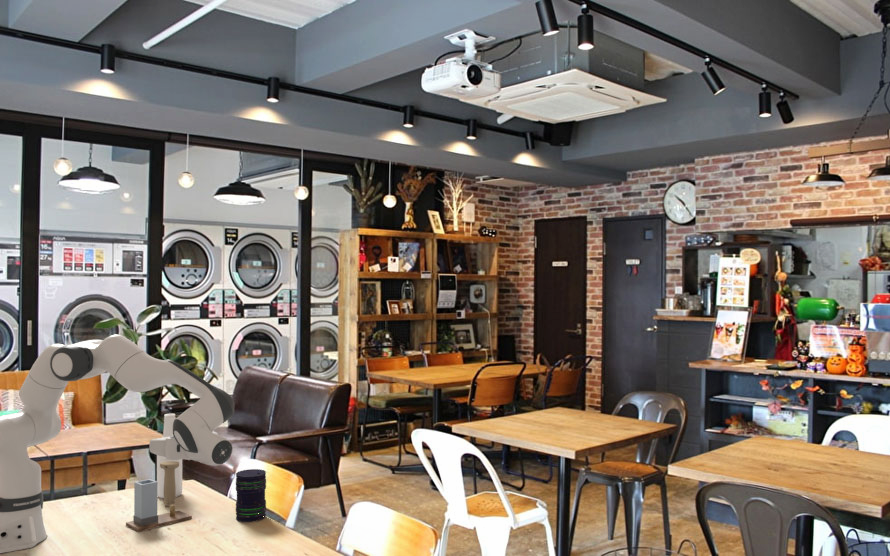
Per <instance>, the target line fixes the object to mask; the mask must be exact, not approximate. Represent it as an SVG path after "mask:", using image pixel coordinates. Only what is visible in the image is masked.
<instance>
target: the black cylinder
mask: <svg viewBox="0 0 890 556" xmlns="http://www.w3.org/2000/svg"><path fill="white" fill-rule="evenodd" d="M266 474H267V471H266V470H264V469H256V468H253V469H252V468H251V469H244V470H238V471H237V472H236V473H235V477H236V478H235V491H236V501H235V502H236V503H235V515H236V517H235V520H236V521H237V522H239V523H241V522H242V523H254V522H253V521H256V522H259V521H260V522H261V521H262V520H264V519H266V517H267V514H266V512H267V501H266V489H267V475H266ZM258 513H259V514H258ZM263 516H264V517H263Z"/></svg>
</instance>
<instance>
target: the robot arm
mask: <svg viewBox="0 0 890 556" xmlns="http://www.w3.org/2000/svg"><path fill="white" fill-rule="evenodd" d="M103 374H109V375H110V376H111V377H113V379H114V380H116V382H117V383H119V384H120V385H121V386H122V387H123V388H124V389H126V390H128V391H131V392H134V393H143V392H145V393H146V392H148V391H149V392H150V391H153V390H155V389H158V388H160V387H164V386H168V385H178V386H181V387H183V388H184V389H186V390H187V391H189V392H190V393H192V394H193V395H195V396H196V397H198V398H199V399H198V400H197V401H196V402H195V403H193V404H192V405H191V406H189V408H187V409H186V410H185V411H183V412H182V413H181V414H180V415H178V416H177V417H176V419H175V420H174V422H173V436H170V437H164V438H163V437H157V438H152V439H150V440H149V447H148V448H149V452H150V453H151V454H154V455H156V456H157V455H159V456H164V457H166V459H167V460H177V459H182V460H188V461H191V460H192V461H194V462H199V463H201V464H204V465H208V466H215V467H216V466H221V465H223V464H225V463H226V462H227V461H229V459H230V458H231V456H232V454H233V444H232V442H231V441H230V439H228V438H226V437H224V436H222V435H220V434H219V433H218V432H216V431H215V430H217V428H219V427H220V426H221V425H222V424H225V422H227V421H228V420H230V419H231V418H232V417H234V413H235V405H236V404H235V401H234V398H232V396H231V395H230V394H229V393H228V392H226V391H225V390H223V389H221V388H219V387H216V386H214V385H213V384H211V383H210V382H208V381H207V380H205V379H204V378H202V377H200V376H198V374H195V373H194V372H192V371H191V370H189V369H188V368H186V367H184V366H182V365H181V364H180V363H178V362H176V361H174V360H172V359H164V360H163V359H159V358H155V357H154V356H151V355H150V354H148V353H147V352H146V351H145V350H143V349H142V348H141V347H140V346H139V345H138V344H136V343H135V342H133V341H132V340H130V339H129V338H127V337H126V336H124V335H121V334H112V335H109V336H107V337H104V338H97V339H87V340H81V341H79V342H74V343H73V344H72V343H71V344H63V343H62V344H61V343H53V344H50V345H48V346H46V347H45V348H44V350H43V351H41V353H40V354H39V356H38V357H37V358H36V360H35V361H34V363H33V364H32V366H31V368H30V370H29V371H28V374H27V375H26V377H25V379H24V381H23V383H22V385H21V387H20V389H19V391H18V395H19V397H18V398H19V400H20V401H21V403H22V404H23V407H22V409H21V410H20V411H18V412H14V413H13V412H12V413H8V414H4V415H3V414H1V415H0V554H5V553H8V552H15V551H19V550H25V549H26V550H27V549H31V548H34V547H36V546H37V544H39V543H41V542H42V541H44V540H46V539H47V537H48V534H47V531H46V527H45V523H44V517H43V509H44V507H43V506H44V493H43V490H42V467H41V465H40V463H38V462H37V461H35V460H33V459H31V458H30V456H29V453H28V448H29V447H33V446H38V445H41V444H44V443H46V442H49V441H50V440H52V439H54V438H56V437H57V436H58V435H59V434H60V432H61V429H62V419H61V417H60V415H59V414H58V413H57V408H58V403H59V402H60V400H61V397H62V396H63V394H64V392H65V390H66V387H67V386H68V384H69V382H77V381H79V380H87V379H90V378H94V377H97V376H99V375H103Z"/></svg>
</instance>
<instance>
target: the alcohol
mask: <svg viewBox="0 0 890 556" xmlns="http://www.w3.org/2000/svg"><path fill="white" fill-rule="evenodd" d="M176 418H177V417H176V414H175V413H166V414H164V416H163V419H164V420H163V421H164V422H163V431H162V432H163V433H162V438H164V437H170V436H173V422H174V420H175V419H176ZM168 461H176V462H179V466H178V467H177V468H176V469H175V487H176V488H175V489H176V490H175V491H176V494H175V498H178V497H181V495H182V493H183V459H177V460H167V459H166V457H164V456H159V455H156V481H157V498H159V499H163V500H164V475H165V471H164V469H163V468H161V467H160V463H162V462H168Z"/></svg>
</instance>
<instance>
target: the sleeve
mask: <svg viewBox="0 0 890 556" xmlns="http://www.w3.org/2000/svg"><path fill="white" fill-rule="evenodd" d="M133 495H134V497H133V499H134V500H133V501H134V504H133V505H134V511H133V512H134V513H133V514H134V515H133V520H132V521H133V522H134V523H136V524H138V525H141V526H144V525H148V524H152V523H156V522H158V515H159V514H158V496H157V480H154V479H152V478H151V479H150V478H148V479H144V480H139V481H138V480H137V481H134V493H133Z"/></svg>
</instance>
